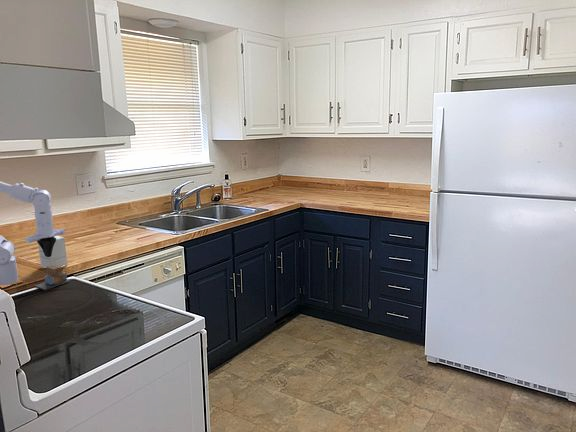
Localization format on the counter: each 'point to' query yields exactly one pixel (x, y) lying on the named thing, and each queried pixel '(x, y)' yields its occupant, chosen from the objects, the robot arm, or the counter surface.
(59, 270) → the walnut block
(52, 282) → the vise jaw
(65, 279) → the vise frame
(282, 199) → the counter surface
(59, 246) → the supplement box
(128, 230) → the counter surface
